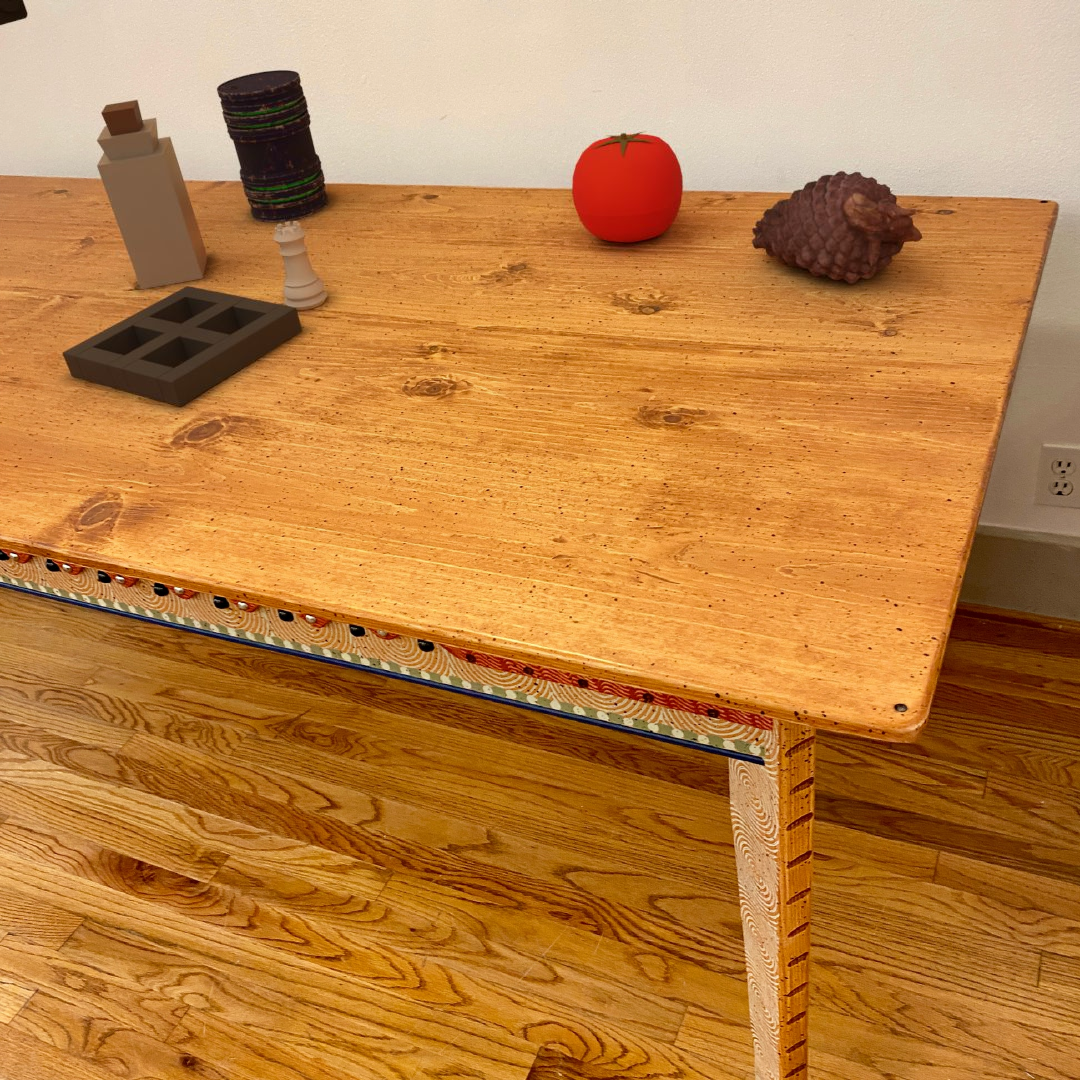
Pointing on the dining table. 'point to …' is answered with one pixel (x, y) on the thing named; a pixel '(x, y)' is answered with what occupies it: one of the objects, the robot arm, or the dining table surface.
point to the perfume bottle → (149, 198)
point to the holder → (183, 344)
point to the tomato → (627, 187)
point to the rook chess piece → (298, 269)
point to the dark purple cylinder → (274, 145)
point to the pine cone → (837, 227)
